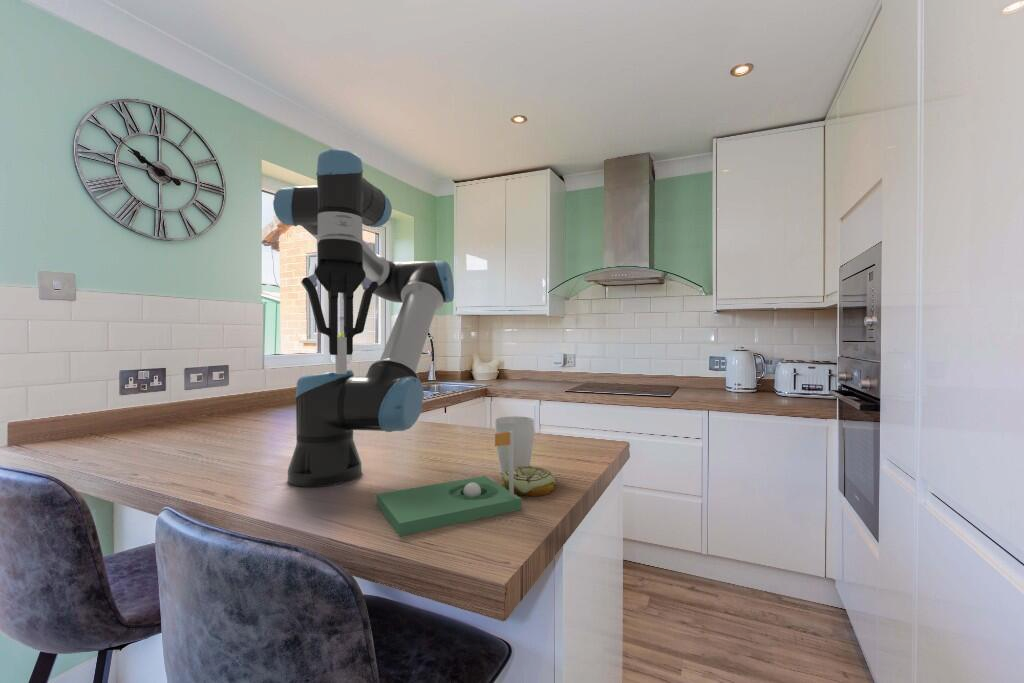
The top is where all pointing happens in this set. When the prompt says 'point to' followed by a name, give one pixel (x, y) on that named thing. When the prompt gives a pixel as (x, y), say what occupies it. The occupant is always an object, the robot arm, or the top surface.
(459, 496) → the green
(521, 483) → the decorated donut
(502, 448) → the cup
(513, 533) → the top surface
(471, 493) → the ball
